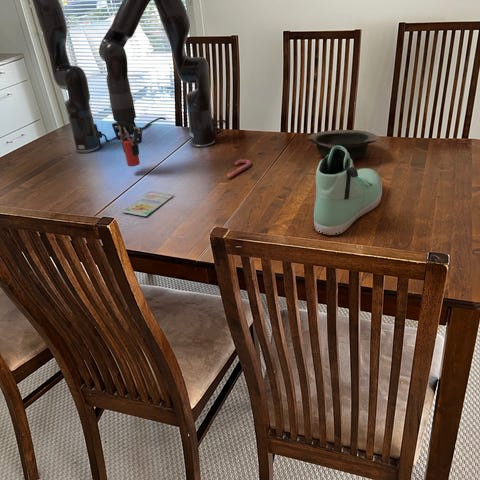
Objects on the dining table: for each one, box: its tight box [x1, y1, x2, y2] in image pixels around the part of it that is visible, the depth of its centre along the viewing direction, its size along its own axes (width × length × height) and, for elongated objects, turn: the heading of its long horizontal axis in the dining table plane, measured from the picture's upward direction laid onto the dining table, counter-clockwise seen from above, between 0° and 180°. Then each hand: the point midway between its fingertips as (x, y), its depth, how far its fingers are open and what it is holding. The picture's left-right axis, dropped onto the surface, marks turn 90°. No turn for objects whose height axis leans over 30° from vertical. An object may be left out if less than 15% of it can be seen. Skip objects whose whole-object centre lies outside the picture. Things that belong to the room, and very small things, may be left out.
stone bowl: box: [307, 129, 380, 162], centre depth 171 cm, size 25×25×9 cm
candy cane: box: [226, 158, 252, 180], centre depth 168 cm, size 6×15×2 cm, turn 145°
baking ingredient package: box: [121, 191, 173, 217], centre depth 150 cm, size 9×1×15 cm
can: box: [122, 138, 141, 167], centre depth 168 cm, size 4×4×9 cm
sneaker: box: [313, 146, 383, 236], centre depth 133 cm, size 14×35×20 cm, turn 152°
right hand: (131, 153), depth 168 cm, fingers closed on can, 4 cm apart
